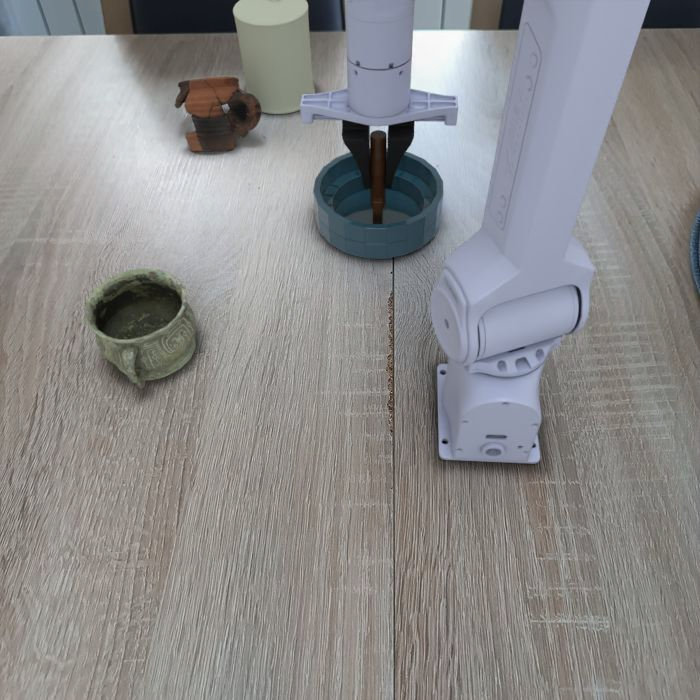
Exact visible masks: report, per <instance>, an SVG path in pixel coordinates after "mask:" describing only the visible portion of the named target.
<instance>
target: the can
mask: <svg viewBox="0 0 700 700" xmlns="http://www.w3.org/2000/svg"><path fill="white" fill-rule="evenodd" d="M308 3H309V2H308V1H307V0H238V1H237V2H236V3H235V4H234V6H233V8H232V14H233V17H234V22H235V27H236V34H237V40H238V46H239V52H240V57H241V64H242V70H243V76H244V85H245V91H246V92H245V93H248V94H252V95H254V96H255V97H256V98H257V99H258V101H259V102H260V105H261V110H262V113H263V114H268V115H269V114H270V115H287V114H291V113H295V112H299V111H300V103H301V98H302V95H303V94H316V89H315V86H314V78H313V77H314V76H313V65H312V63H313V62H312V52H311V51H312V50H311V37H310V23H309V22H310V21H309V4H308Z"/></svg>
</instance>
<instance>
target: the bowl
mask: <svg viewBox="0 0 700 700" xmlns="http://www.w3.org/2000/svg"><path fill="white" fill-rule="evenodd" d="M386 161H387V147H386ZM312 191H313V192H312V193H313V204H314V205H313V206H314V215H315V216H314V217H315V223H316V226H317V228H318V229H317V230H318V232H319V234H320V235H321V236H322V237H323V238H324V239H325V241H327V243H328V244H329V245H331V246H332V247H334V248H336V249H338V250H339V251H341V252H343V253H344V254H348V255H350V256H356V257H359V258H363V259H379V260H381V259H383V260H386V259H392V258H396V257H402V256H406V255H408V254H411V253H412V252H415V251H416V250H417V251H418V250H419V249H421V248H423V247H424V246H425V245H426V244H428V243H429V242H431V240H432V239H434V237H435V236H436V234H437V232H438V230H439V228H440V225H441V220H442V213H443V212H442V210H443V201H444V181H443V178H442V176H441V174H440V173H439V171H438V170H437V168H436V167H435V166H433V165H432V164H431V163H430V162H429V161H427V160H426V159H425V158H422V157H420V156H419V155H417V154H414V153H411V152H408V151H406V152H405V154H404V155H403V157H402V159H401V161H400V163H399V165H398V167H397V170H396V172H395V175H394V179H393V183H392V188H391V189H386V205H385V207H384V208H383V217H382V224H373V208H372V207H371V203H370V188H364V185H363V180H362V176H361V173H360V170H359V168H358V165H357V163H356V161H355V159H354V157H353V155H352V154H351V152H350V151H349V152H347V153H344V154H342V155H339V156H336V157H335V158H334V159H332V160H331V161H330V162H328V163H326V164H325V165H324V166H323V167H322V168H321V170H320V171H319V173H318V174H317V176H316V177H315V179H314V183H313V189H312Z"/></svg>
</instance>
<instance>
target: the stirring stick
mask: <svg viewBox="0 0 700 700" xmlns="http://www.w3.org/2000/svg"><path fill="white" fill-rule="evenodd" d="M387 144H388V133H387V132H386V131H385V130H381V129H376V130H373V131H370V172H371V188H370V203H371V207H372V208H373V224H382V217H383V208H384V207H385V205H386V189H385V175H386V148H387Z"/></svg>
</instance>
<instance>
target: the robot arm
mask: <svg viewBox="0 0 700 700" xmlns="http://www.w3.org/2000/svg"><path fill="white" fill-rule="evenodd" d="M415 2H416V0H344V16H345V19H344V20H345V47H346V49H345V51H346V82H347V88H342V89H336V90H331V91H324V92H318V93H315V94H303V95H302V98H301V103H300V110H299V111H300V121H301V124H302V125H313V123H315V122H314V121H341V122H342V123H341V138H342V141H343V144H344V145H345V147H346V148H347V149H348V151H349V152H351V154H352V155H353V157H354V159H355V161H356V163H357V165H358V168H359V170H360V173H361V176H362V180H363V185H364V188H371V172H370V134H371V127H386V126H387V146H386V148H387V161H386V175H385V189H391V188H392V183H393V179H394V175H395V172H396V170H397V167H398V165H399V163H400V161H401V159H402V157H403V155H404V154H405V152H408V150H409V148H410V147H411V146H412V143H413V141H414V138H415V122H436V123H437V122H443V123H444V125H445V126H450V127H452V126H453V127H455V126H457V121H458V113H459V97H458V95H451V94H450V95H447V94H440V93H435V92H430V91H425V90H420V89H415V88H412V87H411V85H412V64H413V62H412V61H413V41H414V40H413V39H414V21H415V20H414V19H415ZM650 2H651V0H523V4H522V9H521V16H520V20H519V26H518V31H517V36H516V41H515V42H516V43H515V47H514V52H513V58H512V63H511V69H510V74H509V78H508V84H507V88H506V89H507V91H506V95H505V101H504V106H503V111H502V116H501V121H500V125H499V126H500V127H499V132H498V138H497V143H496V148H495V153H494V158H493V164H492V170H491V175H490V181H489V186H488V191H487V195H486V203H485V206H484V211H483V218H482V222H481V226H480V228H479V230H478V231H476V232H475V233H474V234H473V235H471V237H469V238H468V239H467V240H465V241H464V242H463V243H462V244H460V245H459V246H458V247H457V248H456V249H454V250H453V251H452V252H451V253H450V254H448V255H447V256H446V257H445V259H443V264H442V270H441V275H440V276H439V278H438V279H437V280H436V282H435V284H434V285H433V289H432V291H431V293H430V297H429V311H430V318H431V322H432V326H433V330H434V333H435V336H436V338H437V341H438V343H439V345H440V348H441V349H442V351H443V352H444V353H445V355H446V356H447V357H448V358H447V363H439V364H438V365H437V367H436V392H437V431H438V432H437V434H438V435H437V437H438V438H437V439H438V456H439V458H440V459H441V460H444V461H466V462H485V463H486V462H487V463H506V464H507V463H510V464H511V463H512V464H533V465H534V464H538V463H539V462H540V460H541V450H540V443H539V437H538V433H539V430H540V427H541V424H542V409H541V408H542V407H541V402H540V401H541V399H540V383H541V377H542V375H543V372H544V368H545V367H546V366H545V365H546V363H547V359H548V356H549V355H550V352H552V351H554V350H555V349H557V348H559V347H560V344H561V342H562V339H563V336H568V335H573V334H576V333H579V332H580V331H581V330H583V328H584V327H585V325H586V323H587V322H588V318H589V314H590V308H591V293H590V292H591V283H592V281H593V278H594V275H595V272H596V268H595V266H594V263H593V262H592V259H591V257H590V255H589V253H588V251H587V250H586V248H585V247H584V246H583V244H582V243H581V242H580V241H579V239H578V238H577V237H576V236H575V235H574V234H573V231H574V228H575V226H576V223H577V219H578V216H579V213H580V210H581V207H582V205H583V201H584V198H585V196H586V194H587V193H586V192H587V190H588V187H589V183H590V181H591V178H592V175H593V171H594V169H595V166H596V164H597V160H598V157H599V155H600V151H601V148H602V145H603V142H604V139H605V136H606V133H607V130H608V127H609V124H610V121H611V118H612V115H613V113H614V110H615V107H616V104H617V100H618V97H619V95H620V93H621V92H620V91H621V88H622V86H623V83H624V80H625V77H626V74H627V71H628V68H629V65H630V62H631V59H632V56H633V53H634V51H635V47H636V44H637V41H638V39H639V35H640V32H641V30H642V27H643V24H644V21H645V17H646V14H647V11H648V8H649V6H650ZM443 442H446V443H443ZM533 446H534V447H533Z"/></svg>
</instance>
